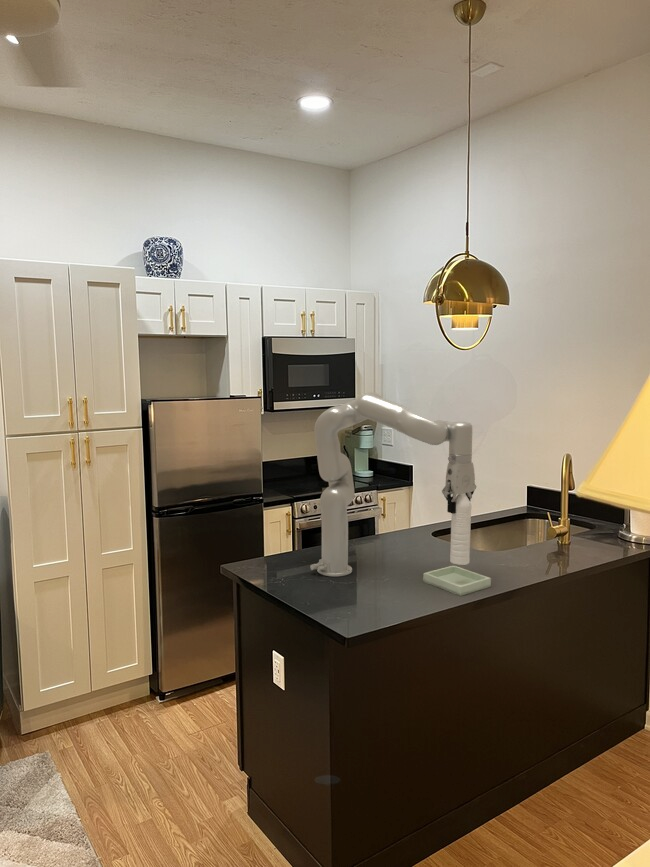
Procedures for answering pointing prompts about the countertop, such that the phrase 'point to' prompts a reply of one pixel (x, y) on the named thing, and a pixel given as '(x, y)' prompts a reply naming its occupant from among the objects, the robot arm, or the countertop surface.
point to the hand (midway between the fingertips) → (458, 510)
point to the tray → (457, 580)
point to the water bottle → (461, 531)
